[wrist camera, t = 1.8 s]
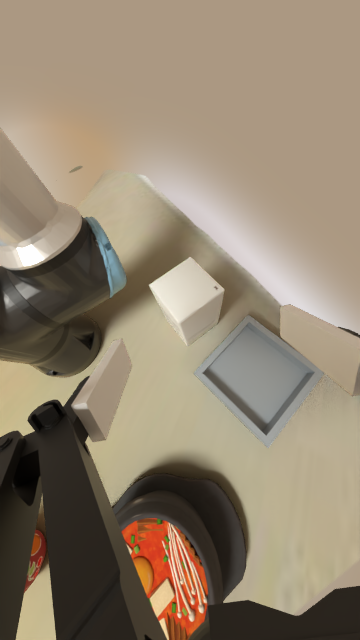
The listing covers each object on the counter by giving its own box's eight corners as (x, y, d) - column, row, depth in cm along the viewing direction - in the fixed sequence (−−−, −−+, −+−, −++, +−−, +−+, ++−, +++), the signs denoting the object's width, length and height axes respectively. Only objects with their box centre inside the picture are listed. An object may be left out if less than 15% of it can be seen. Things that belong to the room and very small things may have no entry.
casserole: (213, 445, 32) (216, 463, 24) (267, 594, 25) (297, 686, 17) (82, 498, 32) (44, 533, 24) (100, 666, 24) (53, 796, 17)
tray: (194, 374, 37) (193, 372, 34) (244, 320, 40) (248, 314, 37) (261, 442, 31) (268, 448, 28) (313, 373, 34) (325, 372, 31)
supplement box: (194, 297, 44) (191, 253, 30) (218, 323, 40) (227, 289, 27) (164, 318, 42) (146, 283, 29) (187, 347, 39) (179, 324, 25)
